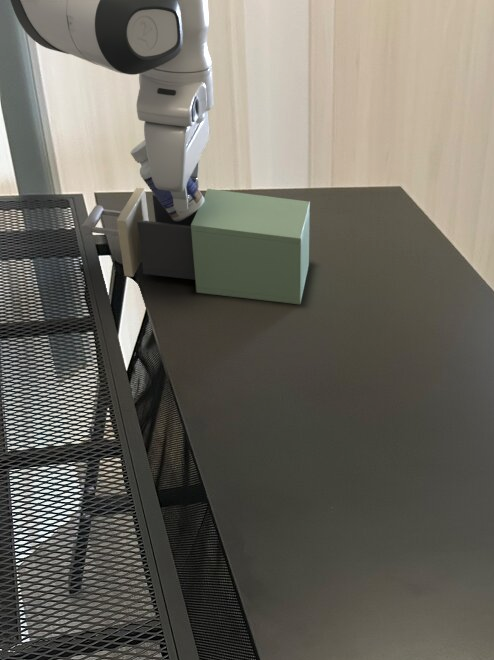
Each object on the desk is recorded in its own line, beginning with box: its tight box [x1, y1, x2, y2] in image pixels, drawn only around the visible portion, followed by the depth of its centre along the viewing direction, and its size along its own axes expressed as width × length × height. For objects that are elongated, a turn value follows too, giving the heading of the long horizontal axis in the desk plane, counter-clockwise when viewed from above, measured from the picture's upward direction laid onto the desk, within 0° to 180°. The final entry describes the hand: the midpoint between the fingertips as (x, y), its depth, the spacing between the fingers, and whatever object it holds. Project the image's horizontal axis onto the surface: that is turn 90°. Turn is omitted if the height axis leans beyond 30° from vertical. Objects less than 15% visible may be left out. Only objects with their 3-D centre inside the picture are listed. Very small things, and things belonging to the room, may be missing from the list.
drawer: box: [80, 187, 198, 281], centre depth 121 cm, size 19×11×8 cm, turn 91°
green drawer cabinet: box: [191, 188, 311, 305], centre depth 122 cm, size 15×13×10 cm
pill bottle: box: [130, 139, 204, 221], centre depth 116 cm, size 5×5×10 cm
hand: (186, 199), depth 118 cm, fingers closed on pill bottle, 5 cm apart
